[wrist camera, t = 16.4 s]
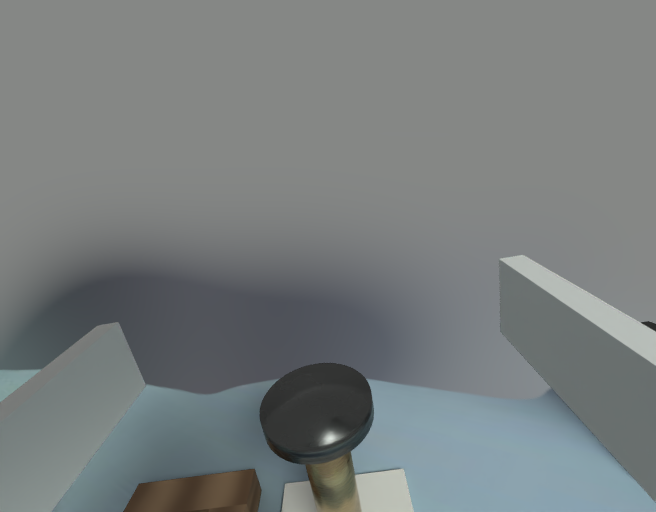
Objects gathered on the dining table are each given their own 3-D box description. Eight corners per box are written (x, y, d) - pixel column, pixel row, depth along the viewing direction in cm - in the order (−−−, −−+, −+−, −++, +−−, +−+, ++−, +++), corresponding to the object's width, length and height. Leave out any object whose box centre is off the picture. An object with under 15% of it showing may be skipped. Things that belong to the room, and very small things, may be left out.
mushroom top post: (385, 493, 36) (365, 357, 31) (403, 600, 28) (379, 438, 22) (304, 503, 37) (269, 370, 31) (297, 611, 28) (248, 454, 23)
